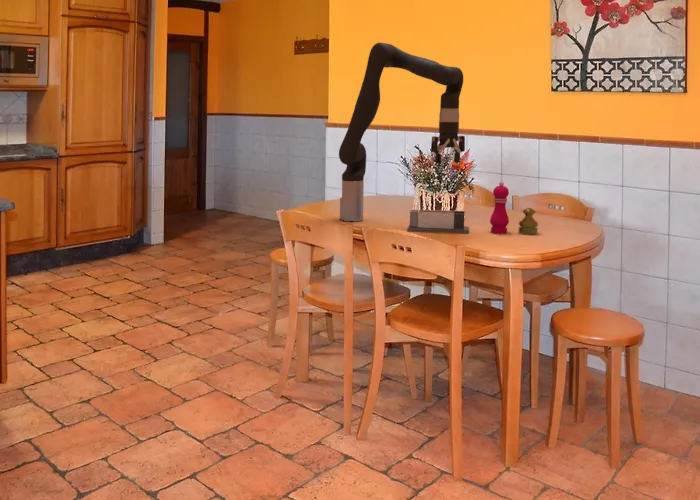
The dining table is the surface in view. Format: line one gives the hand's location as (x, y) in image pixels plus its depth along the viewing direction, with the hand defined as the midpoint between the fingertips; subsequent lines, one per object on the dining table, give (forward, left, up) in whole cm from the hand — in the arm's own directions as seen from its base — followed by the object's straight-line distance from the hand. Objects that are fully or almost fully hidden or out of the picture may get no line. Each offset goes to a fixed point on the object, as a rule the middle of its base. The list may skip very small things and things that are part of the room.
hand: (447, 163), depth 270 cm
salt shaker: (+27, +18, -27) cm, 42 cm away
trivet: (-4, +2, -27) cm, 27 cm away
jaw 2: (-2, 0, -25) cm, 25 cm away
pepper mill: (+17, +13, -27) cm, 35 cm away
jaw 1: (-4, +4, -25) cm, 26 cm away
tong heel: (-13, -3, -25) cm, 28 cm away
